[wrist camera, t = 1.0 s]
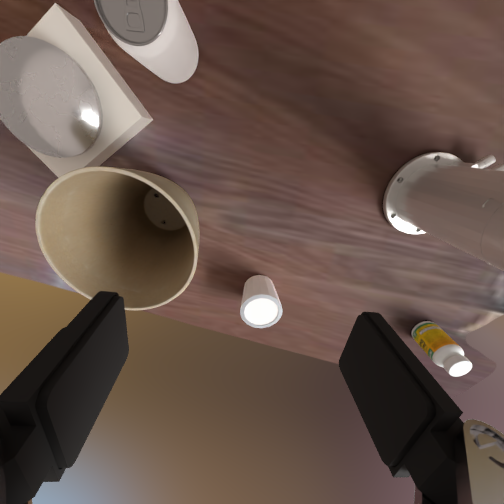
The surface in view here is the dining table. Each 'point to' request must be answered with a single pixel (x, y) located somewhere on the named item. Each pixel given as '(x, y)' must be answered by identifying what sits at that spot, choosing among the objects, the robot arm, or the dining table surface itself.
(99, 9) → the can
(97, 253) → the plant pot
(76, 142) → the scale pan
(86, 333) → the robot arm
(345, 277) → the dining table surface
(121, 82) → the scale housing
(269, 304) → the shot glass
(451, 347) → the supplement bottle
